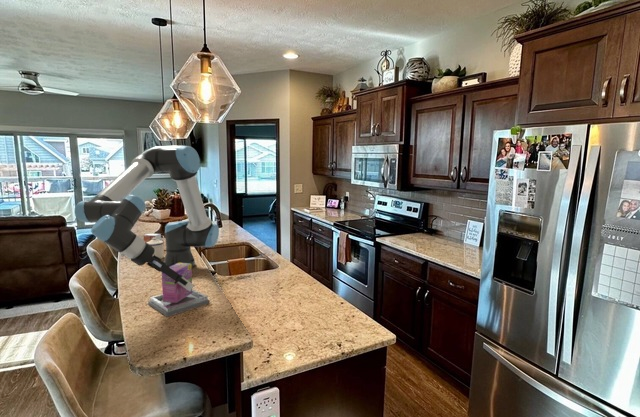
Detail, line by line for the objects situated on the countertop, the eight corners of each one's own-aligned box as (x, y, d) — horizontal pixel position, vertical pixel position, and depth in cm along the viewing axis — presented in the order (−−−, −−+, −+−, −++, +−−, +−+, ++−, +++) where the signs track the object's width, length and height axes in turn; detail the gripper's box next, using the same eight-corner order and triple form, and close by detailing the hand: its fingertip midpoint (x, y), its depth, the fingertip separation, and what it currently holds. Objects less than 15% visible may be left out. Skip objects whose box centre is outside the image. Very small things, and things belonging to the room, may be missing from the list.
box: (176, 303, 122) (175, 271, 121) (162, 302, 124) (160, 270, 122) (193, 292, 133) (191, 263, 131) (179, 291, 134) (178, 262, 132)
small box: (144, 252, 207) (143, 235, 206) (150, 249, 213) (149, 233, 211) (156, 252, 206) (155, 235, 205) (161, 250, 211) (160, 233, 210)
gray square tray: (189, 292, 140) (189, 289, 140) (209, 303, 129) (209, 300, 129) (148, 304, 128) (148, 301, 128) (167, 316, 117) (166, 313, 117)
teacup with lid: (164, 255, 199) (163, 235, 198) (164, 259, 191) (163, 238, 190) (141, 257, 194) (139, 237, 193) (140, 261, 186) (139, 240, 185)
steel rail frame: (188, 290, 139) (188, 287, 139) (207, 300, 129) (207, 296, 129) (150, 301, 128) (149, 297, 128) (167, 312, 118) (167, 308, 118)
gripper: (121, 253, 124) (168, 285, 137) (139, 266, 107) (191, 301, 120) (136, 237, 127) (181, 269, 139) (156, 247, 110) (205, 283, 123)
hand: (185, 284), depth 130 cm, fingers closed on box, 10 cm apart
